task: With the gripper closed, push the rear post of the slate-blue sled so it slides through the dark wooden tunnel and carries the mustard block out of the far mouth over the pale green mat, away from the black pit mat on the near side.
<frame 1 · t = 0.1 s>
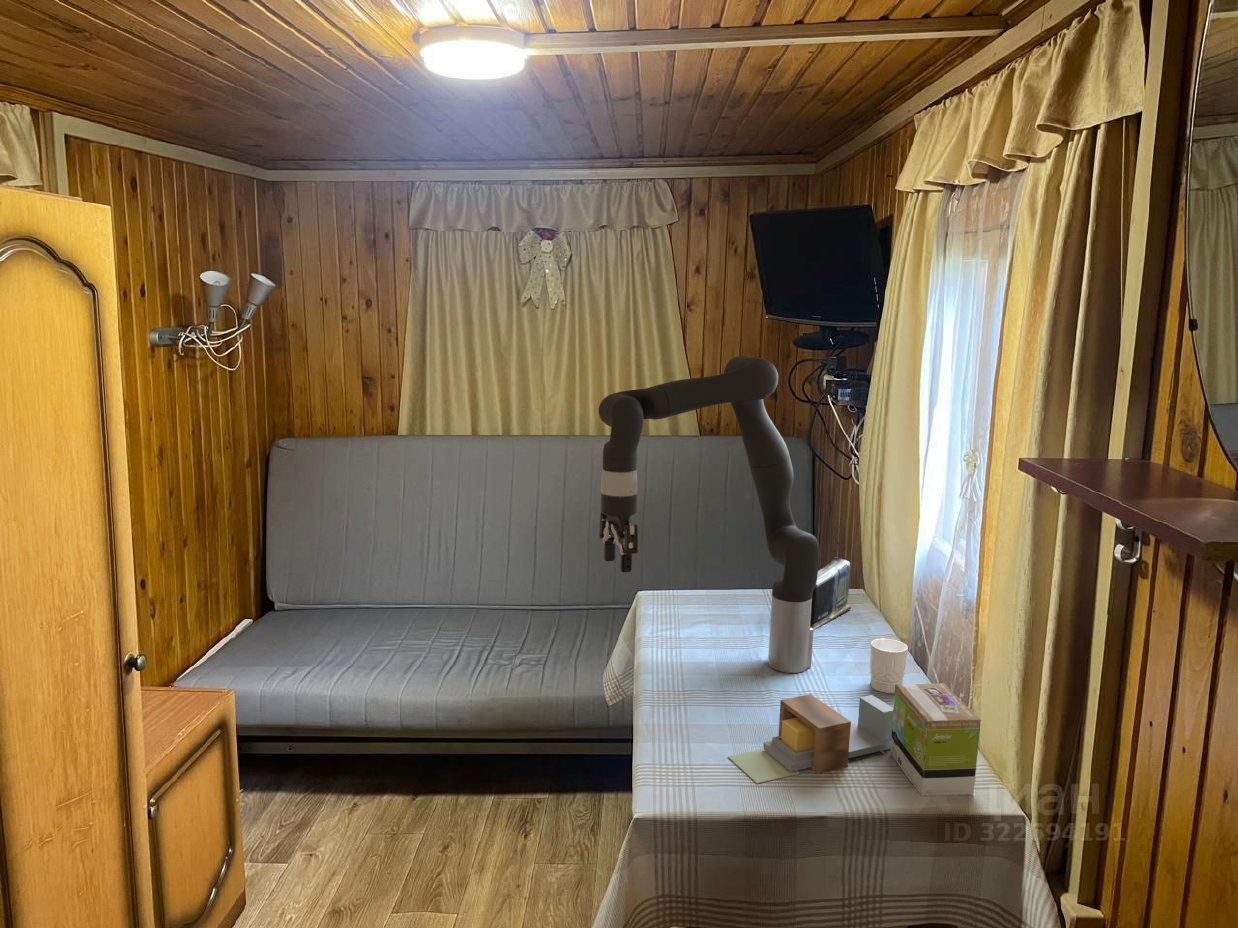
hand: (617, 566, 186), 29 cm above the table, tool pointing down, fingers open, 8 cm apart
white cup: (885, 687, 199), on the table
sled: (831, 730, 170), point 4 cm above the table, slide at 0.0 cm, touching block
pit mat: (850, 745, 172), on the table
tunnel: (811, 754, 169), on the table
tea box: (929, 775, 163), on the table
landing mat: (763, 765, 164), on the table
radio: (824, 619, 242), on the table
block: (799, 748, 167), point 2 cm above the table, touching sled
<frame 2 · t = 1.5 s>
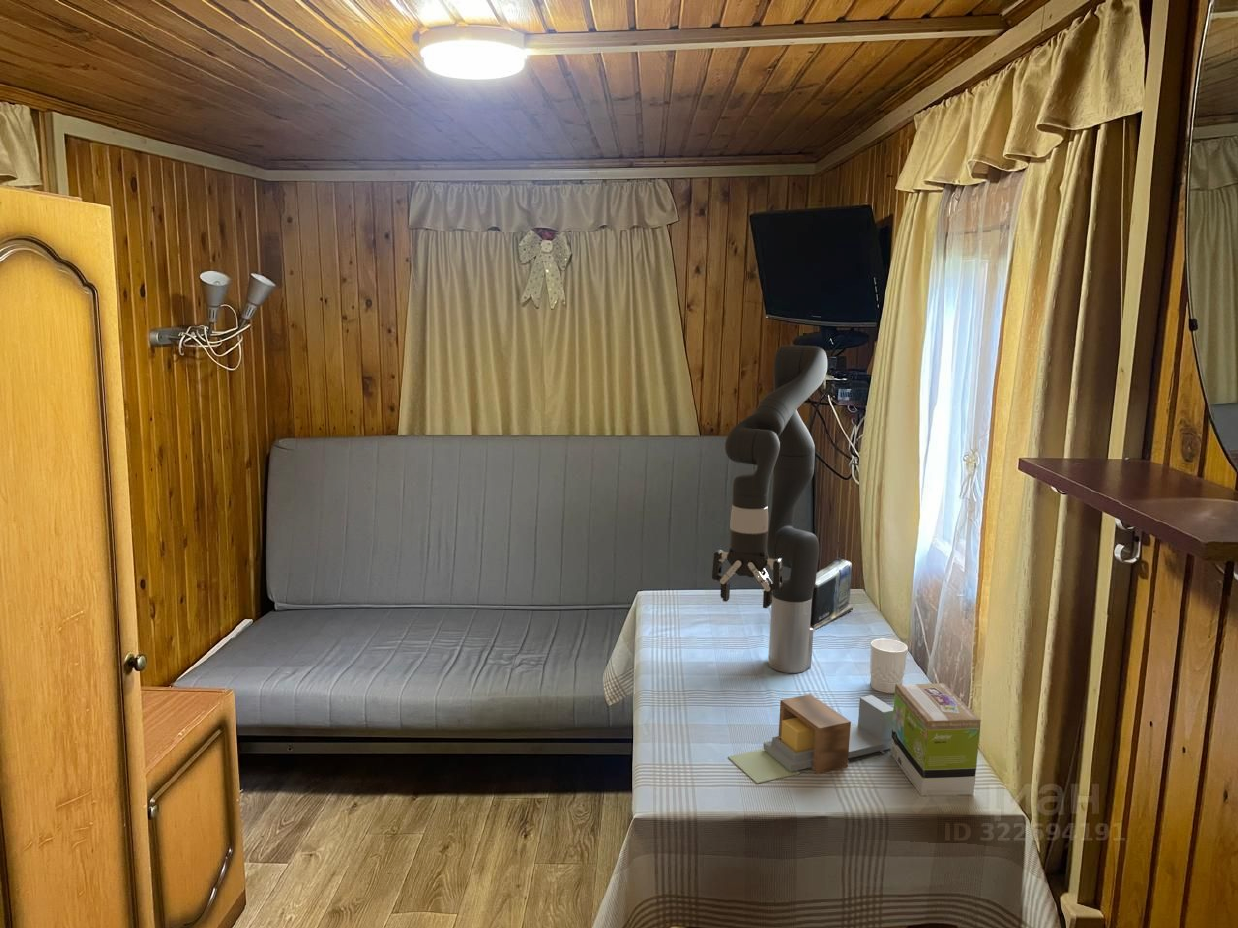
hand: (745, 603, 181), 24 cm above the table, tool pointing down, fingers open, 8 cm apart
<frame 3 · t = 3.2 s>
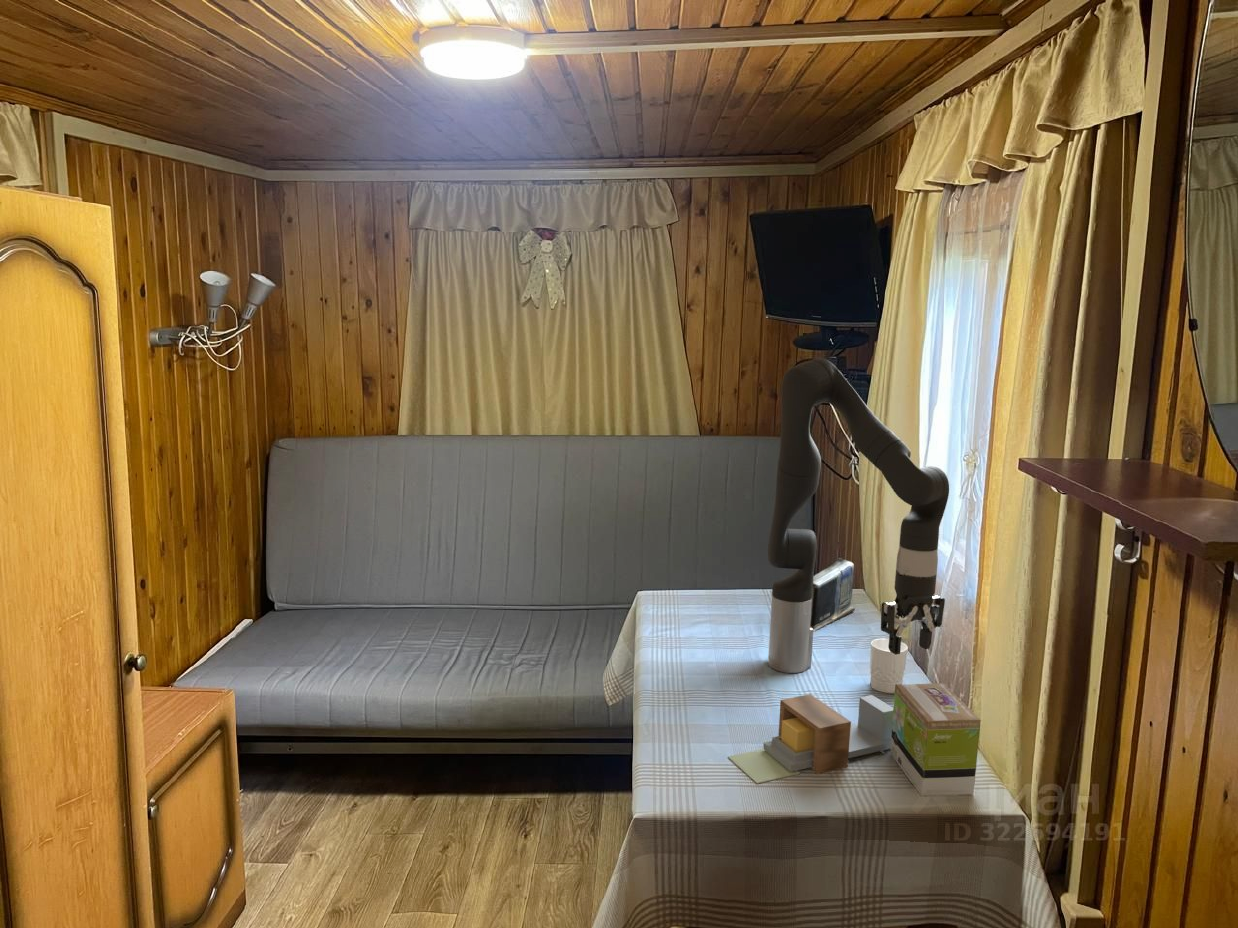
hand: (909, 650, 174), 18 cm above the table, tool pointing down, fingers open, 7 cm apart
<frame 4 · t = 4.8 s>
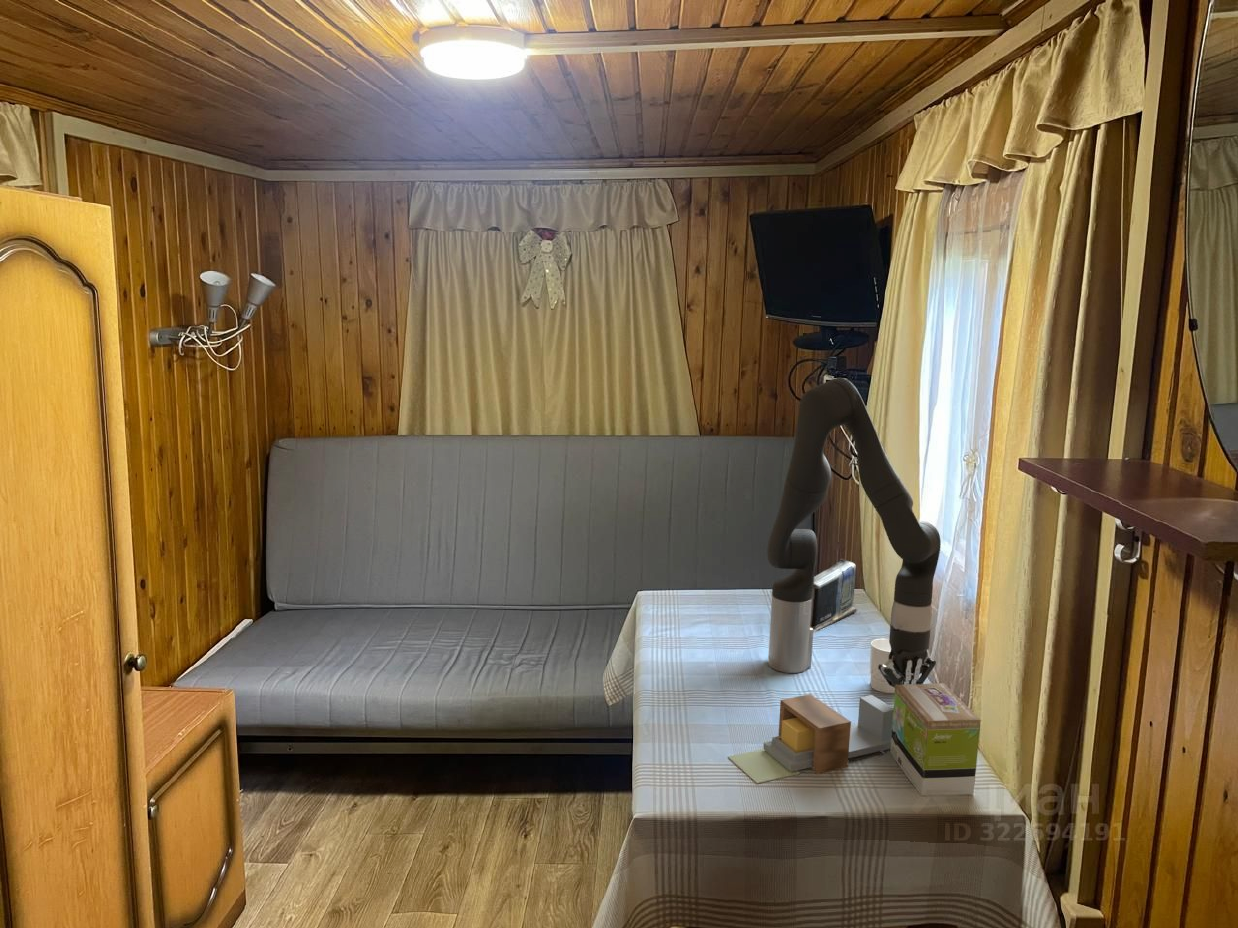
hand: (903, 706, 176), 6 cm above the table, tool pointing down, fingers closed
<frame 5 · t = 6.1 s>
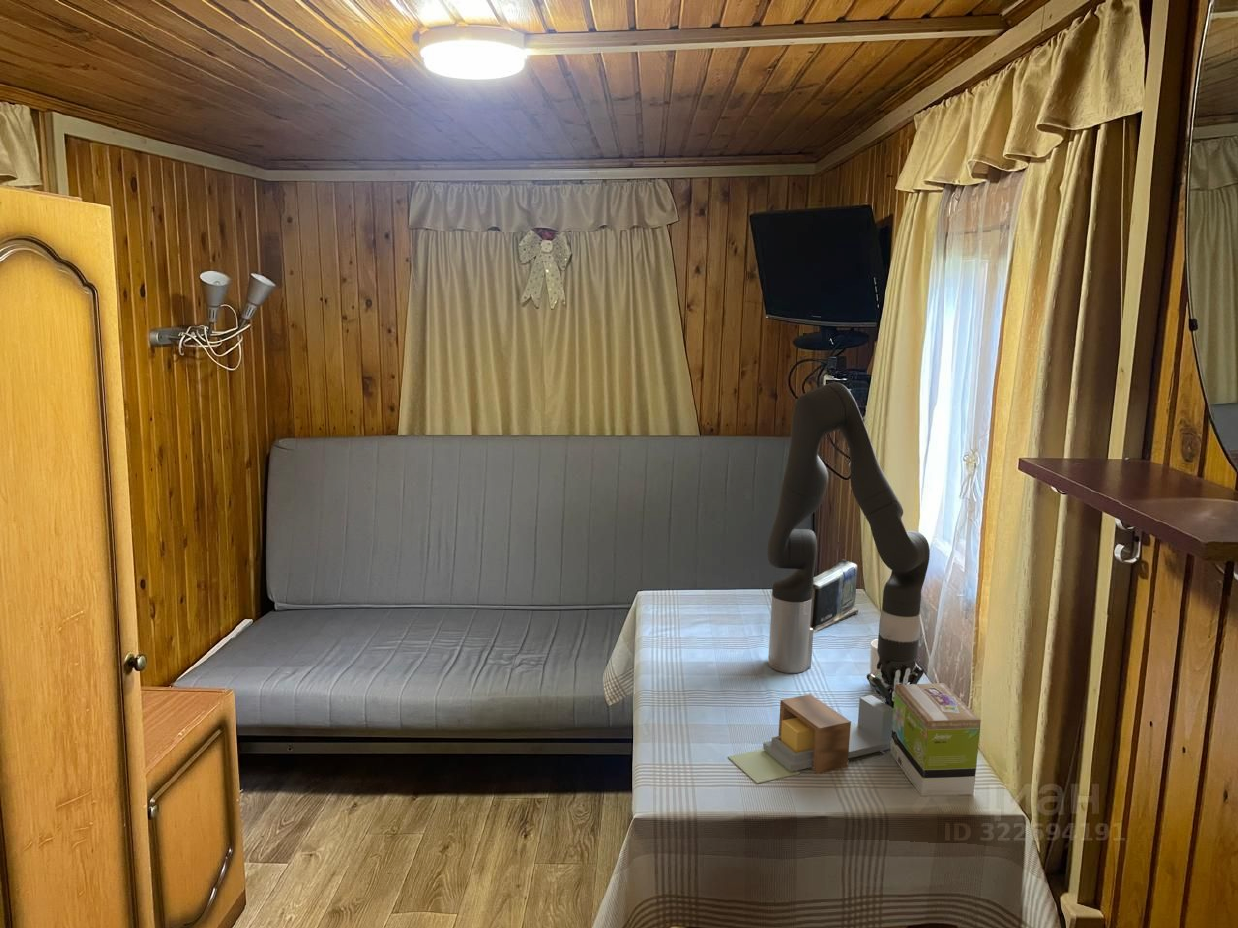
hand: (892, 715, 175), 5 cm above the table, tool pointing down, fingers closed
sled: (831, 730, 170), point 4 cm above the table, slide at 0.1 cm, touching block, gripper
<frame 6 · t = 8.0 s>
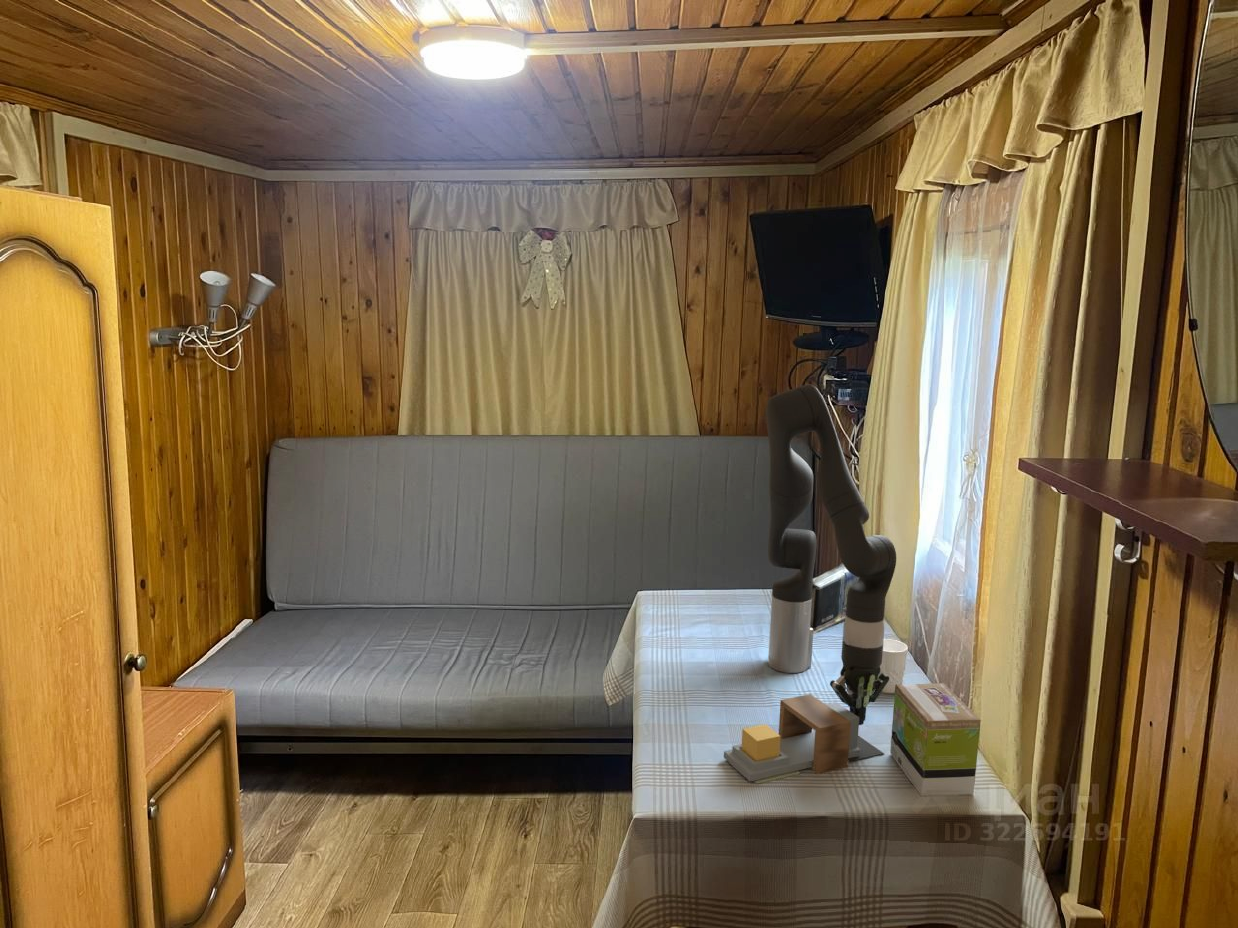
hand: (856, 723, 172), 5 cm above the table, tool pointing down, fingers closed
sled: (793, 738, 166), point 4 cm above the table, slide at 8.8 cm, touching block, gripper
block: (759, 757, 163), point 2 cm above the table, touching sled
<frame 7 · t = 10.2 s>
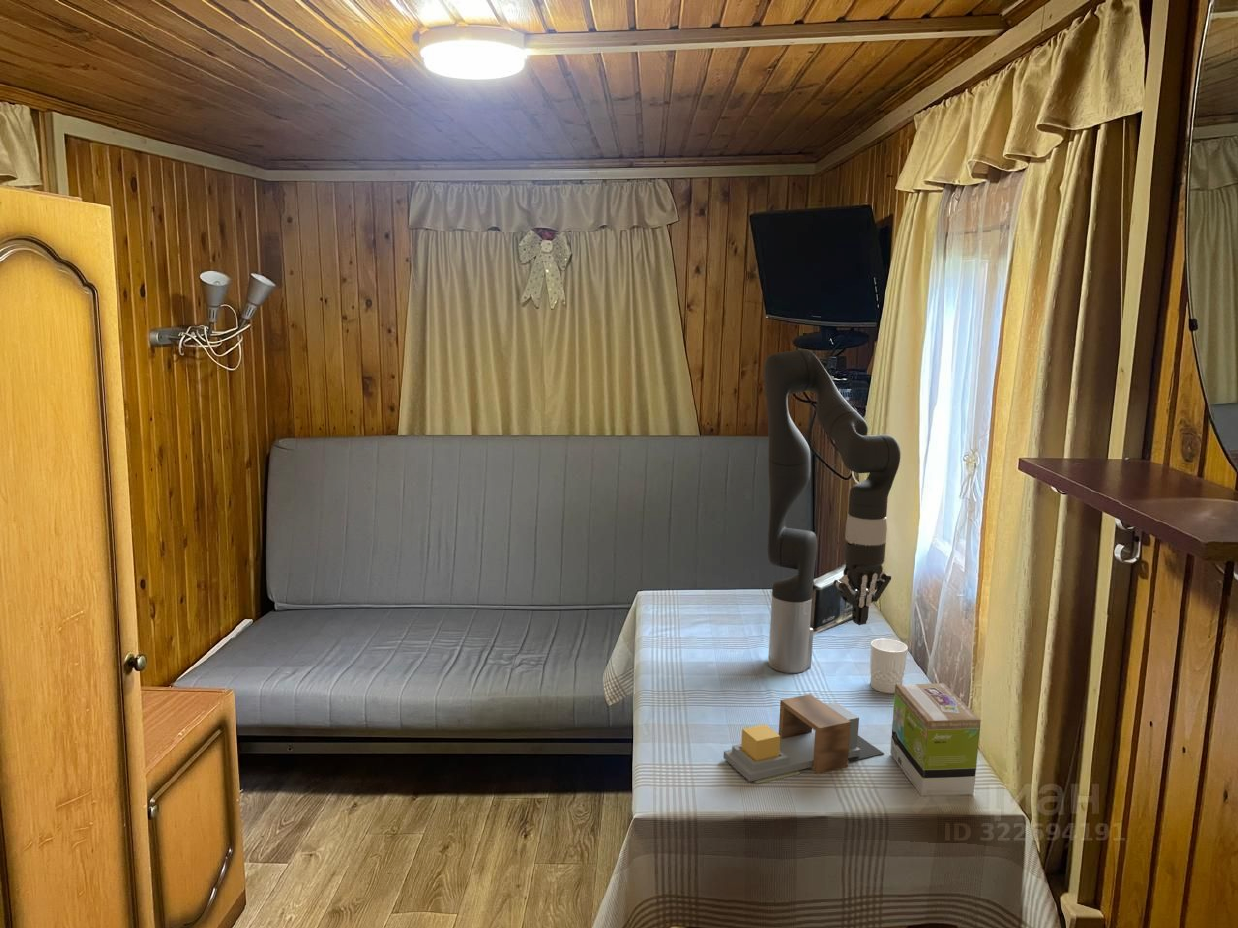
hand: (859, 623, 173), 23 cm above the table, tool pointing down, fingers closed
sled: (793, 738, 166), point 4 cm above the table, slide at 8.8 cm, touching block
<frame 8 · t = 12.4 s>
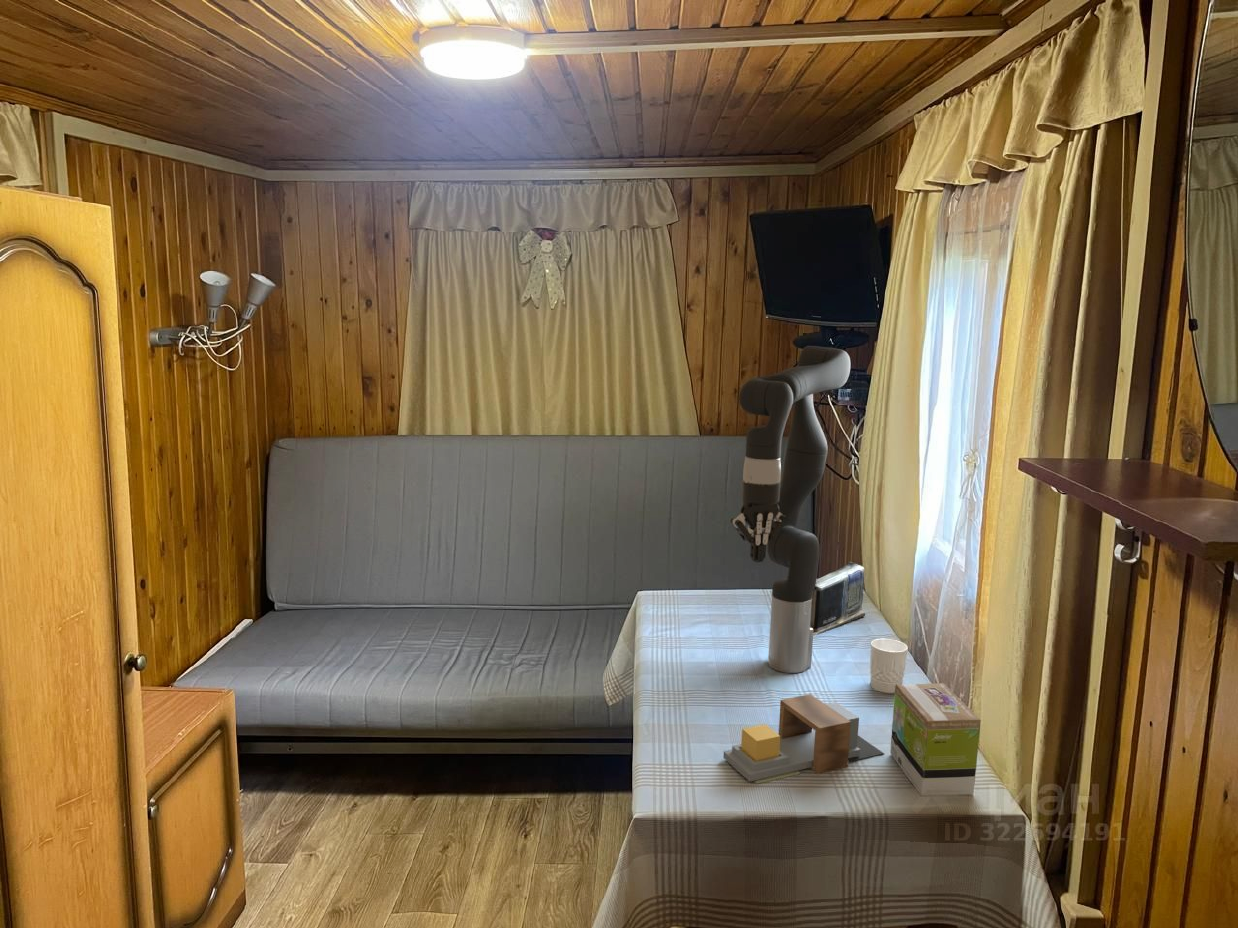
hand: (757, 561, 182), 32 cm above the table, tool pointing down, fingers closed
at the end: block inside the target area on the table beside the tunnel (0.4 cm from its centre), point 1.8 cm above the table; block tilted 0°; sled slide at 8.8 cm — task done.
